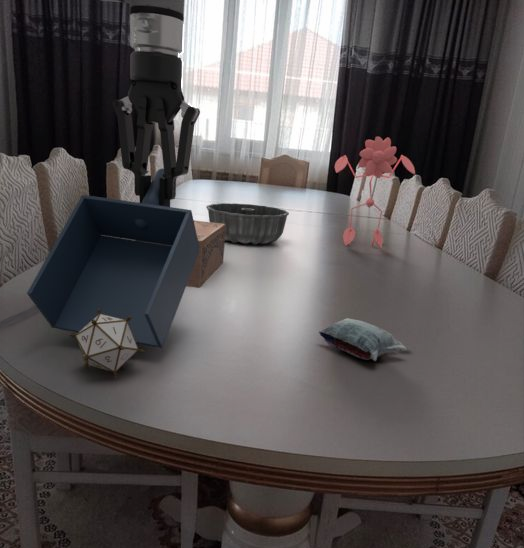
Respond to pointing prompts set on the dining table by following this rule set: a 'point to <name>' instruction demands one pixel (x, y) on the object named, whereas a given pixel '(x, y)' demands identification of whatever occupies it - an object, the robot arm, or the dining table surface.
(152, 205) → the blue open box
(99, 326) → the game die
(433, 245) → the dining table surface
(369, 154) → the figurine
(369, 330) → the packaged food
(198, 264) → the tissue box cover
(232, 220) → the bundt pan
